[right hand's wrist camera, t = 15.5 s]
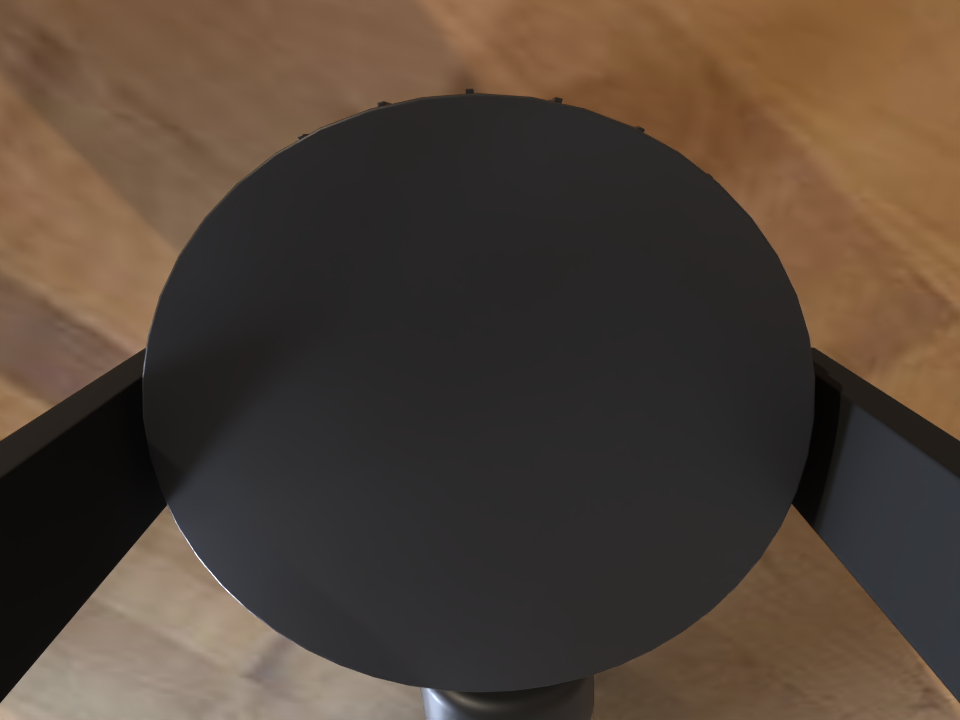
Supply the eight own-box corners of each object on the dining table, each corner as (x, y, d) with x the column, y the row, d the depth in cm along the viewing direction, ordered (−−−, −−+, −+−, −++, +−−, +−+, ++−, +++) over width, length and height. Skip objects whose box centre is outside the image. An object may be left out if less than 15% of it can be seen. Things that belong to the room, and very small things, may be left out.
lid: (753, 594, 13) (795, 667, 12) (278, 642, 14) (248, 718, 12) (781, 48, 9) (855, 28, 8) (105, 148, 10) (20, 152, 8)
